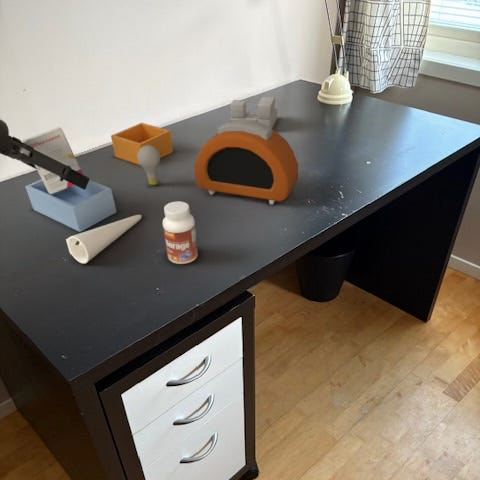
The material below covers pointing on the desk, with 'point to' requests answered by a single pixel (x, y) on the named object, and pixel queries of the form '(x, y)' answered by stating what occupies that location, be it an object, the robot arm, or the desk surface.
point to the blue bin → (73, 204)
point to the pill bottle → (179, 233)
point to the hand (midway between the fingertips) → (67, 176)
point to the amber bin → (141, 141)
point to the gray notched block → (265, 111)
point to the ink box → (54, 156)
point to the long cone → (98, 238)
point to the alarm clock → (247, 162)
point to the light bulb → (149, 162)
